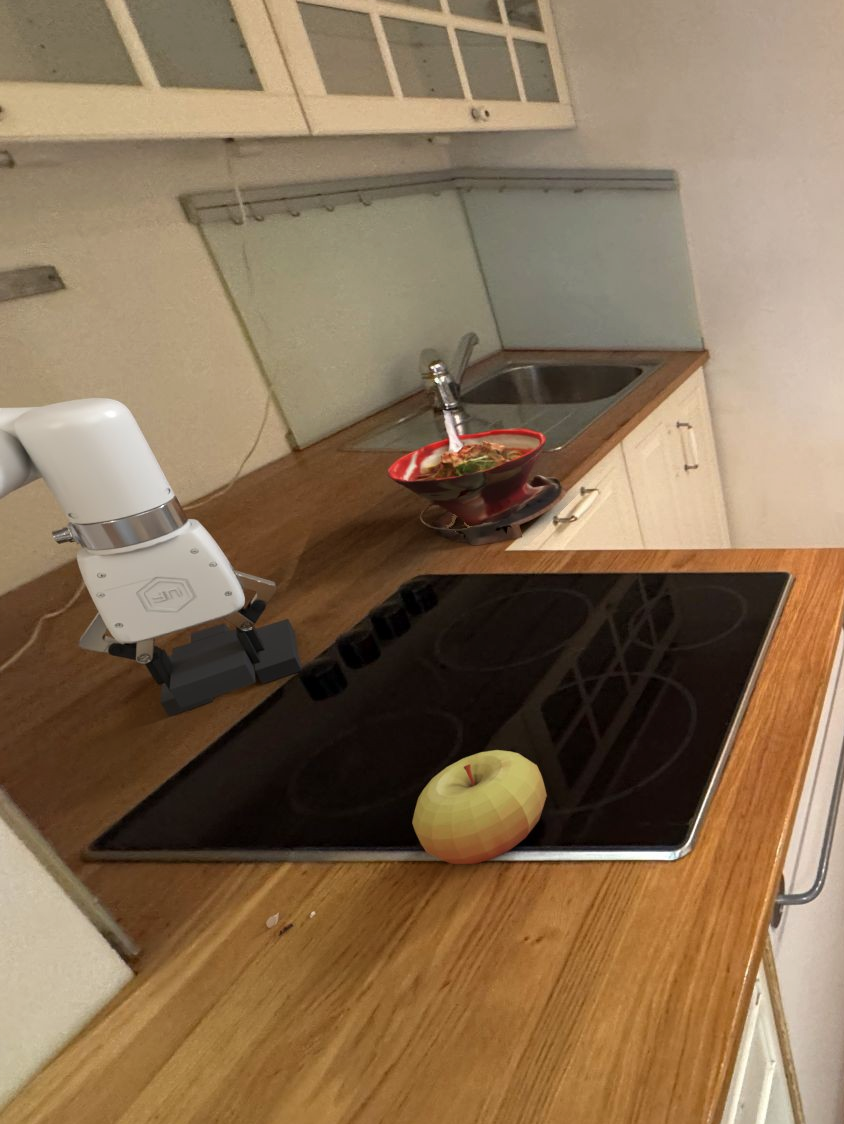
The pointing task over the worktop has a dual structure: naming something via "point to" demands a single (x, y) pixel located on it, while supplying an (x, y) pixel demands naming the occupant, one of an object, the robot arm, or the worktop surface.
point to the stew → (480, 481)
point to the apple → (479, 807)
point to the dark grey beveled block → (209, 666)
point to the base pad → (274, 663)
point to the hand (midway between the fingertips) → (216, 670)
